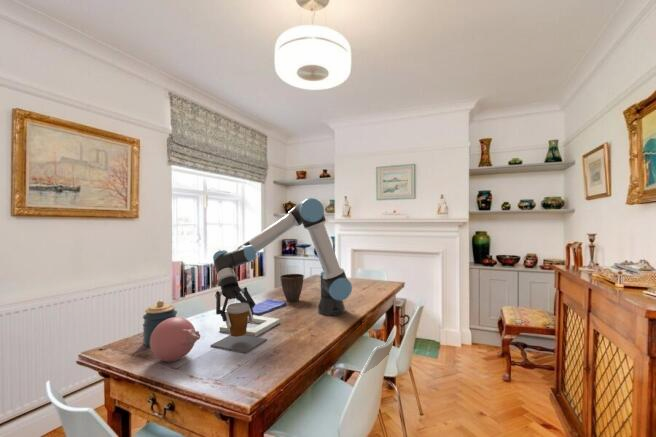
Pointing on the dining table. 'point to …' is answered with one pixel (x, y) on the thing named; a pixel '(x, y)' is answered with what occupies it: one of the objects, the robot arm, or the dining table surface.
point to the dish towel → (267, 306)
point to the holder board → (264, 326)
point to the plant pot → (292, 286)
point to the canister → (156, 318)
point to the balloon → (173, 339)
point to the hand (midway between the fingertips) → (241, 324)
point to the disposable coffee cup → (238, 318)
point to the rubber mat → (239, 343)
